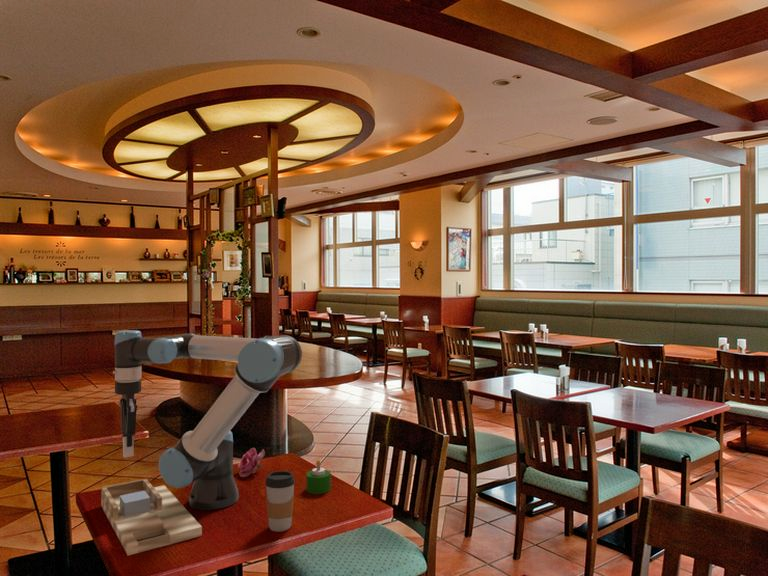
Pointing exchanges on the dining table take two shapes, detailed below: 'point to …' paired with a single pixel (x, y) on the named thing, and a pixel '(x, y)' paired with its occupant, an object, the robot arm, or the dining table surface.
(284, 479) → the coffee cup
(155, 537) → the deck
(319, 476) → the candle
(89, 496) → the dining table surface
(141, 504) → the slate block
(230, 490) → the robot arm
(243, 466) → the flower
